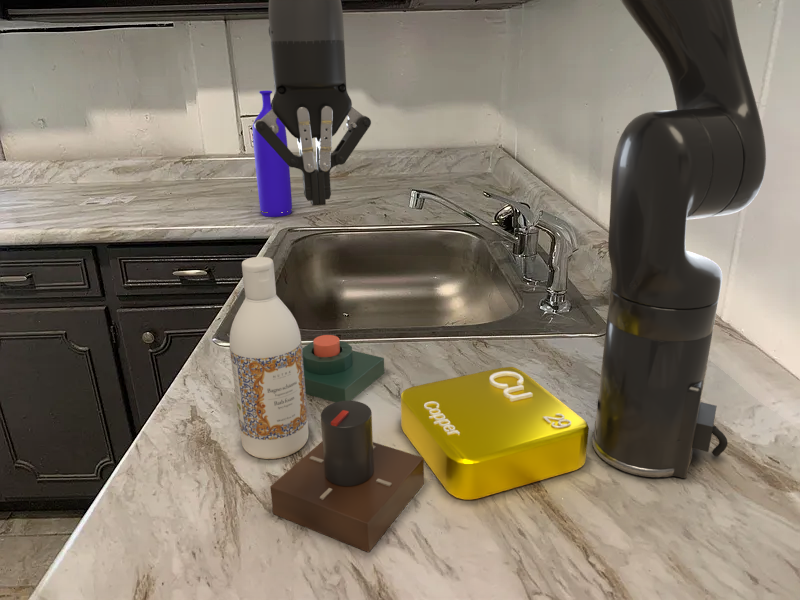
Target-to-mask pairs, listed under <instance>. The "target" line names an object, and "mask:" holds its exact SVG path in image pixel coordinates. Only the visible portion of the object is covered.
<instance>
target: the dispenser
mask: <svg viewBox="0 0 800 600" xmlns="http://www.w3.org/2000/svg"><path fill="white" fill-rule="evenodd" d="M339 341H340V353H339V354H338V355H335V356H332V357H319V356H315V355H314V345H313V341H311V342H310V343H308V344H307V345H305V346H304V347H302V355H303V367H304V380H305V392H306V395H308V396H312V397H315V398H318V399H322V400H324V401H329V402H332V403H336V402H340V401H354V399H355V398H356V397H357V396H359V395H360V394H361V393H363V391H365V390H366V389H367V388H369V386H371V385H372V384H374V382H376V381H377V380H378V379H379V378H380V377H382V376H383V375H384V374H385V358H384V357H382V356H378V355H373V354H369V353H365V352H361V351H356V350H353V346H352V345H350V344H349V343H348V342H347V341H343V340H339Z"/></svg>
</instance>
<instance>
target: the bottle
mask: <svg viewBox="0 0 800 600" xmlns="http://www.w3.org/2000/svg"><path fill="white" fill-rule="evenodd" d="M258 93H259V94H260V95H261V100H262V108H261V110H260V112H259V114H258V115H257V116H256V117H255V119H254V121H253V123H252V143H253V155H254V166H255V176H256V185H257V195H258V204H259V210H260V213H261V215H262V216H263V217H267V218H278V217H286V216H289V215H291V214H292V212H293V200H292V199H293V198H292V184H291V183H292V182H291V168H290V166H288V165H287V163H286V162H285V161H284V160H283V159H282V158H281V157H280V156H279V155H278V153H277V152H276V151H275V150H274V149H273V148H272V147H271V146H270V145H269V144H268V142H267V141H266V140H265V139H264V138H263V137H262V136H261V135H260V134H259V132H258V131H257V130H256V129H255V127H254V122H255V121H256V120H257V119H261V118H263V117H264V116H265V115H266V114H267V113H268V112H269V111H270V110H271V109H272V108H271V102H272V100H271V94H273V90H259V91H258ZM276 123H277V125H278V127H279V131H278V133H277V134H276V135H277V136H278V137H279V139H280V140H281V141H282V142H283V143H284V144H285V145H286V146H287V148H288V149H289V147H288V139H287V128H286V127H285V126H284V125H283V123H282V122H281V121H280V120H279V119H278V118H277V120H276ZM291 209H292V210H291ZM261 211H263V212H268V213H263V212H261ZM287 211H288V212H287ZM281 212H283V213H281Z"/></svg>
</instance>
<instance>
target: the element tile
mask: <svg viewBox="0 0 800 600" xmlns="http://www.w3.org/2000/svg"><path fill="white" fill-rule="evenodd" d="M400 421H401V423H400V424H401V430H402V432H403V433H404V435H405V436H406V437H407V439H408V441H409V442H410V443H411V444H412V445H413V447H414V448H415V450H416V451H417V452H418V453H419V456H420V457H423V458H424V463H426V465H427V466H428V467H429V468H430V470H431V472H433V474H434V475H435V476H436V478H437V479H438V481H439V482H440V484H441V485H442V486H443V487H444V489H445V490H446V492H447V493H449V494H450V495H452V497H454V498H457V499H460V500H464V501H465V500H467V501H468V500H470V501H471V500H476V499H477V500H478V499H482V498H484V497H485V498H486V497H488V496H491V495H495V494H498V493H501V492H505V491H509V490H513V489H516V488H519V487H522V486H525V485H529V484H534V483H536V482H540V481H543V480H547V479H550V478H554V477H556V476H560V475H564V474H567V473H571V472H574V471H577V470H579V469H581V468H582V467H583V466H584V465H585V463H586V459H587V450H588V442H589V433H590V432H589V431H590V427H589V425H588V423H587V421H585V419H584V418H583V417H581V416H580V415H579V414H577V412H575V411H574V410H572V409H571V408H570V407H569V406H567V405H566V404H565V403H564V402H562V401H561V400H559V398H557V397H556V396H555V395H554V394H552V392H550V391H549V390H547V389H546V388H545V387H543V386H542V385H541V384H540V383H538V382H537V381H536V380H534V379H533V378H532V377H531V376H529V375H528V374H527V373H526V372H524V371H522V370H521V369H519V368H517V367H514V366H506V367H498V368H494V369H488V370H485V371H480V372H474V373H469V374H465V375H461V376H456V377H451V378H446V379H442V380H436V381H432V382H428V383H423V384H419V385H413V386H411V387H408V388H406V389H404V390H403V391H402V392H401V394H400Z"/></svg>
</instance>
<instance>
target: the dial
mask: <svg viewBox="0 0 800 600" xmlns="http://www.w3.org/2000/svg"><path fill="white" fill-rule="evenodd" d="M372 414H373V413H372V410H371V407H370V406H368V405H367V404H366V403H364V402H361V401H358V400H357V401H356V400H351V401H340V402H332V403H330V404H328V405H327V406H325V407H324V408H323V409H322V411H321V413H320V425H321V426H320V428H321V442H323V456H324V469H325V476H326V478H327V479H328V480H329V481H330V482H331V483H333V484H336V485H339V486H355V485H359V484H361V483H364V482H365V481H367V480H368V479H369V478H370V477H371V476H372V474H373V471H374V463H373V442H374V440H373V439H374V438H373V415H372Z"/></svg>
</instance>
